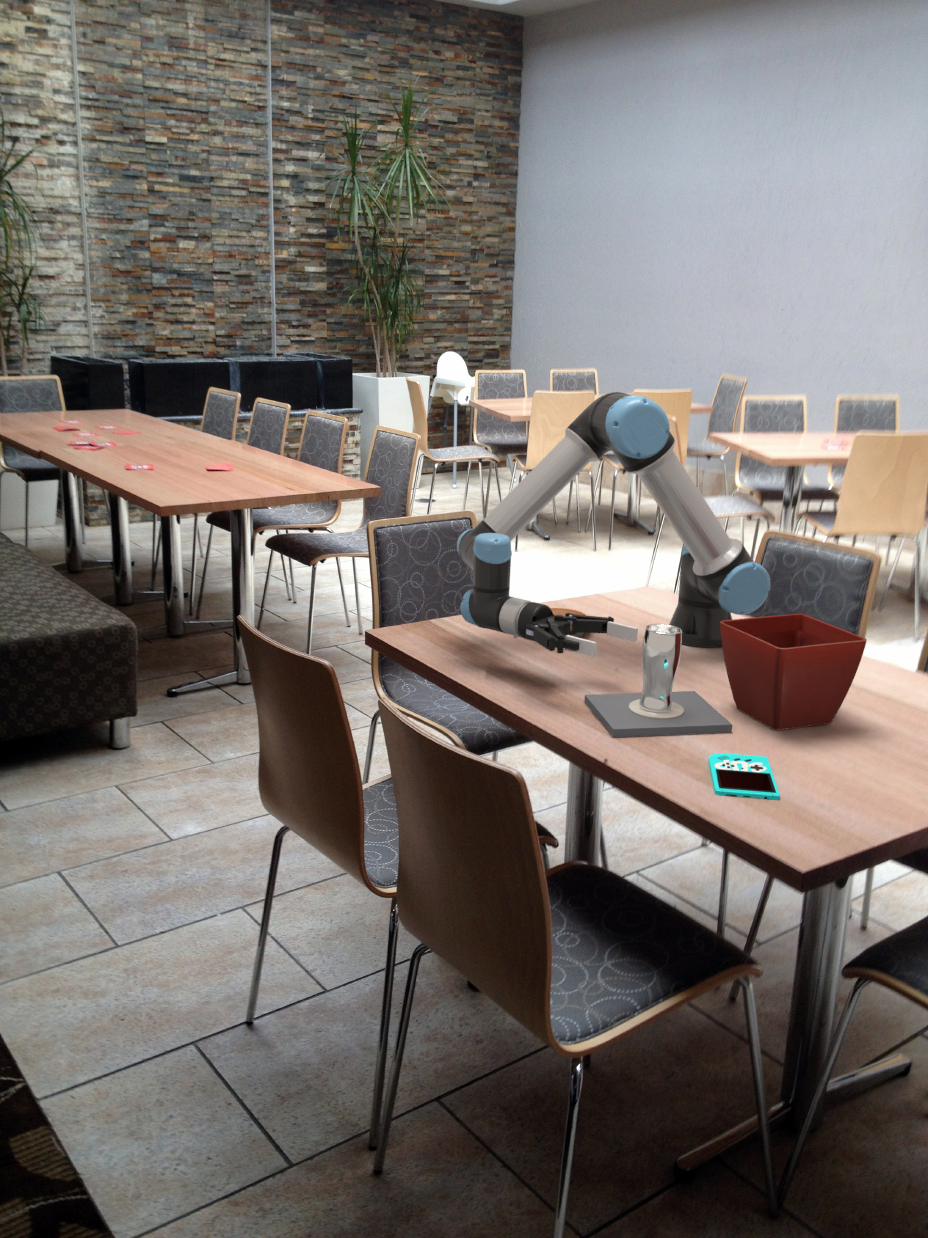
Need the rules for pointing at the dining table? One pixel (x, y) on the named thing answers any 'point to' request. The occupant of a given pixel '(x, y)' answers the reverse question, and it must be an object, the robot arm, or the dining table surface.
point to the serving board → (656, 715)
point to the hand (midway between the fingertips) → (616, 642)
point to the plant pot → (789, 668)
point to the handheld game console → (742, 776)
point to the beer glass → (660, 666)
